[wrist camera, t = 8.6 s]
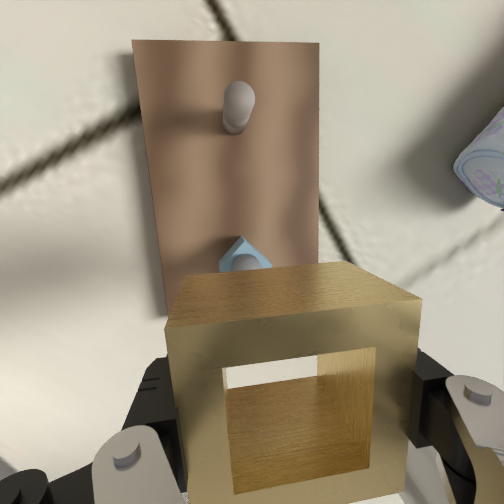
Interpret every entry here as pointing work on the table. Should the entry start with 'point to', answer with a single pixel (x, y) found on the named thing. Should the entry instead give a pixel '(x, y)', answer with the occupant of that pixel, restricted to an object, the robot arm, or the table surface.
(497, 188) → the pencil case
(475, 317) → the table surface
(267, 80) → the workboard
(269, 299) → the collar
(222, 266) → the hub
